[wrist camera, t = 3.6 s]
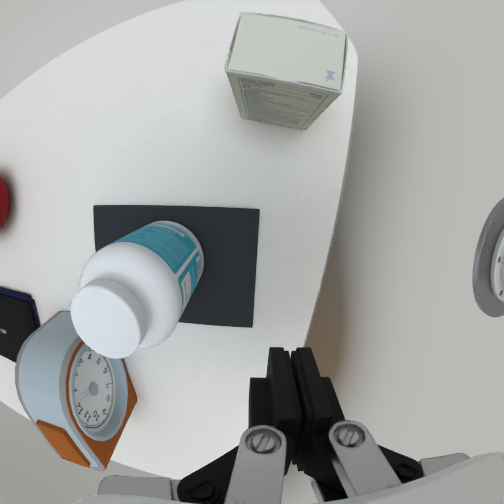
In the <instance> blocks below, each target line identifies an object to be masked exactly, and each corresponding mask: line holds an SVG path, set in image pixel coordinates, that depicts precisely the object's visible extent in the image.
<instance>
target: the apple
mask: <svg viewBox="0 0 504 504" xmlns="http://www.w3.org/2000/svg"><path fill="white" fill-rule="evenodd" d="M8 211H9V194H8V187H7V184H6V183H5V181H4V180H3V179H2V178H1V177H0V230H1V228H2V227H3V225H4V223H5V220H6V218H7V215H8Z"/></svg>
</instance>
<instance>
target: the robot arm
mask: <svg viewBox="0 0 504 504" xmlns="http://www.w3.org/2000/svg"><path fill="white" fill-rule="evenodd" d="M490 279H491V287H492V291H493V293H494V295H495V296H496V297H497V298H498V299H500V300H501V301H504V228H503V230H502V231H501V233H500V235H499V238H498V240H497V242H496V245H495V249H494V252H493V257H492V262H491V272H490ZM291 459H292V464H293V465H295V464H297V468H298V471H304V473H305V474H307V475H308V476H310V482H311V485H312V487H313V490H314V492H315V495H316V498H317V500H318V503H315V504H504V453H488V454H483V455H479V456H475V457H472V458H470V457H469V456H467V455H465V454H463V453H456V454H451V455H446V456H440V457H433V458H425V459H421V460H420V461H419V462H417V461H416V460H414V459H412V458H409V457H406V456H404V455H401V454H399V453H396V452H394V451H392V450H389V449H387V448H384V447H382V446H380V445H377V444H376V442H375V440H374V439H373V437H372V436H371V434H370V433H369V431H368V429H367V428H366V427H365V426H364V425H362V424H361V423H358V422H356V421H350V420H346V421H345V418H344V415H343V412H342V410H341V407H340V404H339V401H338V398H337V396H336V393H335V390H334V388H333V385H332V382H331V380H330V378H329V377H321V376H320V373H319V371H318V368H317V365H316V361H315V359H314V356H313V353H312V350H311V348H310V347H309V348H308V347H307V348H306V347H304V348H297V349H296V351H292V352H291V358H290V356H289V351H284V348H283V347H270V348H269V357H268V366H267V375H266V378H250V389H249V429H247V430H246V431H245V432H244V433H243V434H242V437H241V440H240V444H239V445H238V446H237V447H235V448H234V449H232V450H231V451H229V452H227V453H226V454H224V455H223V456H221V457H219V458H218V459H216V460H214V461H213V462H211V463H209V464H208V465H206V466H204V467H202V468H201V469H199V470H197V471H195V472H193V473H192V474H190V475H188V476H186V477H185V478H183V479H182V480H171V479H170V478H151V477H129V476H118V475H113V476H108V477H105V478H104V479H103V480H102V481H101V482H100V484H99V487H98V494H97V495H89V496H85V497H82V498H79V499H77V500H76V501H74V502H73V503H72V504H281V499H282V489H283V480H284V476H285V475H286V474H287V471H288V468H289V465H290V462H291Z"/></svg>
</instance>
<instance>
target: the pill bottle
mask: <svg viewBox="0 0 504 504" xmlns="http://www.w3.org/2000/svg"><path fill="white" fill-rule="evenodd" d="M203 267H204V256H203V251H202V248H201V246H200V243H199V242H198V240H197V238H196V237H195V236H194V234H193V233H192V232H191V231H189V230H188V229H187V228H186V227H184V226H182V225H180V224H178V223H175V222H171V221H157V222H153V223H151V224H148V225H146V226H144V227H142V228H140V229H138V230H136V231H134V232H132V233H130V234H128V235H126V236H124V237H122V238H121V239H119V240H117V241H115V242H113V243H111V244H109V245H107V246H105V247H104V248H102V249H100V250H99V251H97V252H96V253H95V254H93V255H92V256H91V257H90V259H89V260H88V261H87V263H86V264H85V266H84V268H83V271H82V273H81V277H80V283H79V290H78V292H77V293H76V294H75V295H74V297H73V299H72V302H71V318H72V322H73V325H74V327H75V329H76V332H77V333H78V335H79V336H80V338H81V339H82V340H83V341H84V342H85V343H86V344H87V345H88V346H89V347H90V348H91V349H92V350H94V351H95V352H97V353H98V354H100V355H103V356H105V357H108V358H114V359H121V358H126V357H128V356H130V355H132V354H133V353H134V352H135V351H136V350H137V349H146V348H151V347H153V346H156V345H158V344H160V343H162V342H163V341H164V340H166V339H167V338H168V337H169V336H170V334H171V333H172V332H173V330H174V329H175V327H176V325H177V323H178V321H179V319H180V317H181V315H182V313H183V311H184V309H185V307H186V305H187V303H188V301H189V299H190V297H191V295H192V293H193V291H194V289H195V287H196V285H197V283H198V281H199V279H200V277H201V275H202V272H203Z"/></svg>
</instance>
